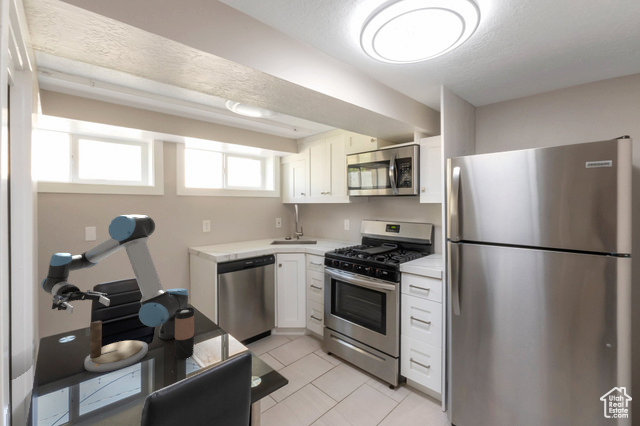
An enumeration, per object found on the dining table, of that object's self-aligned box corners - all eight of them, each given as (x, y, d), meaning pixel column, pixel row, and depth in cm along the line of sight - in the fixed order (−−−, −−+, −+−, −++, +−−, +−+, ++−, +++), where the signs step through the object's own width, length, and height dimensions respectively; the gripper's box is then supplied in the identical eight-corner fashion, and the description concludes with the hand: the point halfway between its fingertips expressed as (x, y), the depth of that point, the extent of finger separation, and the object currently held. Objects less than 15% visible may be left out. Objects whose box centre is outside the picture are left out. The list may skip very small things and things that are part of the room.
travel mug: (186, 361, 115) (186, 314, 116) (170, 359, 117) (170, 312, 117) (197, 352, 123) (197, 308, 123) (182, 350, 124) (183, 306, 125)
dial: (137, 338, 131) (137, 307, 131) (147, 352, 118) (147, 317, 118) (87, 352, 118) (88, 317, 118) (92, 369, 105) (92, 330, 105)
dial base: (156, 343, 131) (156, 339, 131) (132, 369, 109) (132, 364, 109) (105, 347, 127) (105, 342, 127) (70, 374, 106) (70, 368, 106)
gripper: (95, 294, 139) (120, 308, 130) (27, 306, 116) (52, 323, 107) (98, 280, 139) (123, 292, 130) (31, 288, 116) (56, 304, 107)
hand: (91, 306), depth 118 cm, fingers open, 13 cm apart
